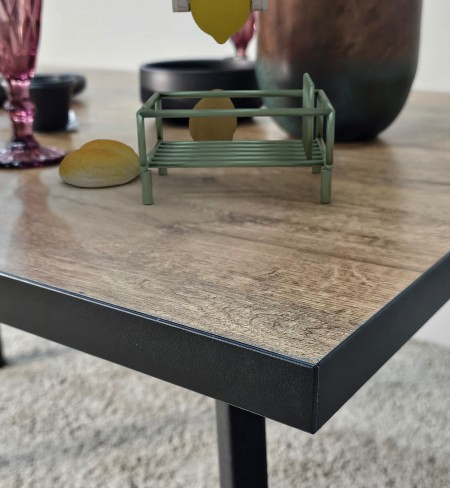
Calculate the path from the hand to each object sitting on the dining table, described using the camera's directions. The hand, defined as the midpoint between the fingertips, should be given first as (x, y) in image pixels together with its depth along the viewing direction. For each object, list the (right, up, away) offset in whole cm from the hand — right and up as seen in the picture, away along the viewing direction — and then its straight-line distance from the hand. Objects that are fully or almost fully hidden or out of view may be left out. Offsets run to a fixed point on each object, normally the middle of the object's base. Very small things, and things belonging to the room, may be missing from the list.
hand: (220, 11), depth 65 cm
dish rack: (+2, -14, +11) cm, 18 cm away
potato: (-1, -8, +25) cm, 26 cm away
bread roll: (-13, -12, +16) cm, 24 cm away
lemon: (0, -3, +1) cm, 3 cm away
